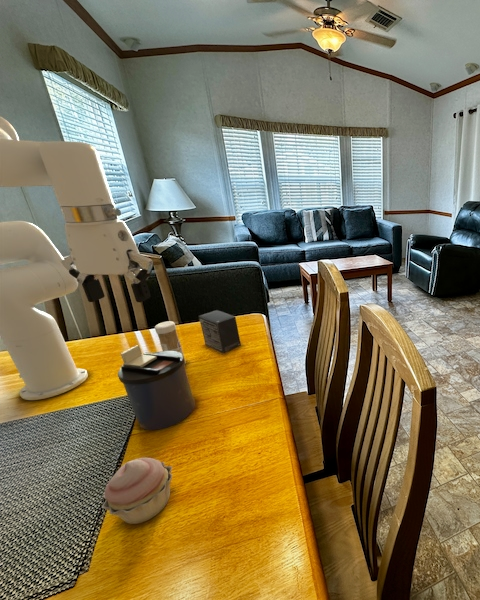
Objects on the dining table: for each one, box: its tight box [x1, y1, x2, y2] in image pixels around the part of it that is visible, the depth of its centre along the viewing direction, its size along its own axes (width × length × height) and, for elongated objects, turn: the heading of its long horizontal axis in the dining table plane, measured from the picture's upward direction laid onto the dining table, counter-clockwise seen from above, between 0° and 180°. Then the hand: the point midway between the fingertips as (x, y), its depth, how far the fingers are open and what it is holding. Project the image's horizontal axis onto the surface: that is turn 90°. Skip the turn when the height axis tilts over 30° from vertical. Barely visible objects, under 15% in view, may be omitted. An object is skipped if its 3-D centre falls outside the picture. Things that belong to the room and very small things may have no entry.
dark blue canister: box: [117, 350, 196, 431], centre depth 73 cm, size 12×12×14 cm
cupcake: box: [101, 456, 173, 525], centre depth 53 cm, size 9×9×10 cm
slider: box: [120, 344, 157, 367], centre depth 71 cm, size 4×4×3 cm
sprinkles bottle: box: [154, 320, 187, 367], centre depth 92 cm, size 5×5×14 cm
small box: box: [197, 309, 242, 354], centre depth 103 cm, size 11×6×10 cm, turn 58°
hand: (120, 299), depth 67 cm, fingers open, 9 cm apart
